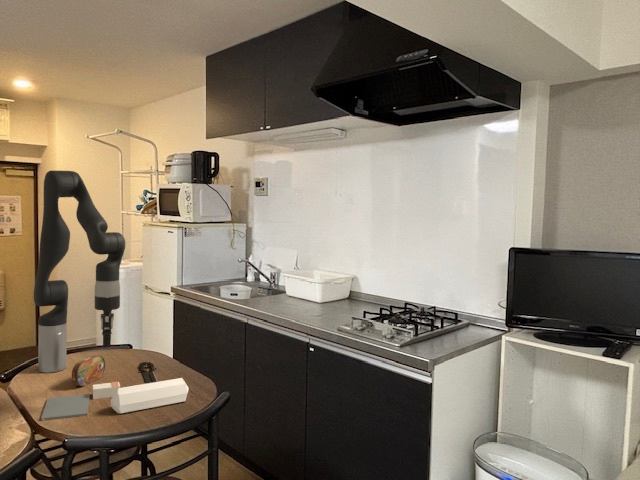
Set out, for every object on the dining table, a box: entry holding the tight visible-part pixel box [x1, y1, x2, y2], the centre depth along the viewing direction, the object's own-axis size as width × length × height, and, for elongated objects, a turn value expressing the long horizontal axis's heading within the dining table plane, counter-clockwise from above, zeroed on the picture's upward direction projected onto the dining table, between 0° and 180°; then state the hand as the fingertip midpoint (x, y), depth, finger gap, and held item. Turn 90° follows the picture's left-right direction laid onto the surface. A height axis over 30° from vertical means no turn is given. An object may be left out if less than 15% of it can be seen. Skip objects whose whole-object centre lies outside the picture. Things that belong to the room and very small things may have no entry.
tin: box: [71, 355, 106, 387], centre depth 173 cm, size 15×3×8 cm, turn 168°
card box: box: [92, 381, 121, 400], centre depth 162 cm, size 4×8×4 cm, turn 116°
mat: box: [40, 393, 91, 420], centre depth 151 cm, size 16×12×1 cm
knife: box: [138, 361, 159, 384], centre depth 183 cm, size 25×6×1 cm, turn 20°
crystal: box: [110, 377, 189, 414], centre depth 155 cm, size 7×7×24 cm
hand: (107, 343), depth 161 cm, fingers open, 8 cm apart
